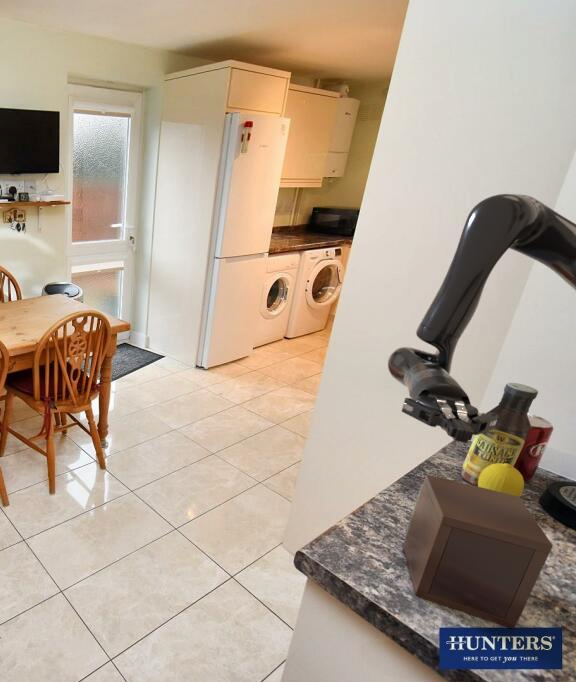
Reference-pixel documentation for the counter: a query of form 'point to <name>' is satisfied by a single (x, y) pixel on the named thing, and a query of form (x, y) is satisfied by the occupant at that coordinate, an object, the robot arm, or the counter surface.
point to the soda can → (533, 447)
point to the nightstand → (474, 550)
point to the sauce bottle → (501, 433)
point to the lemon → (502, 479)
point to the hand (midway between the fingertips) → (463, 436)
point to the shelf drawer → (414, 508)
